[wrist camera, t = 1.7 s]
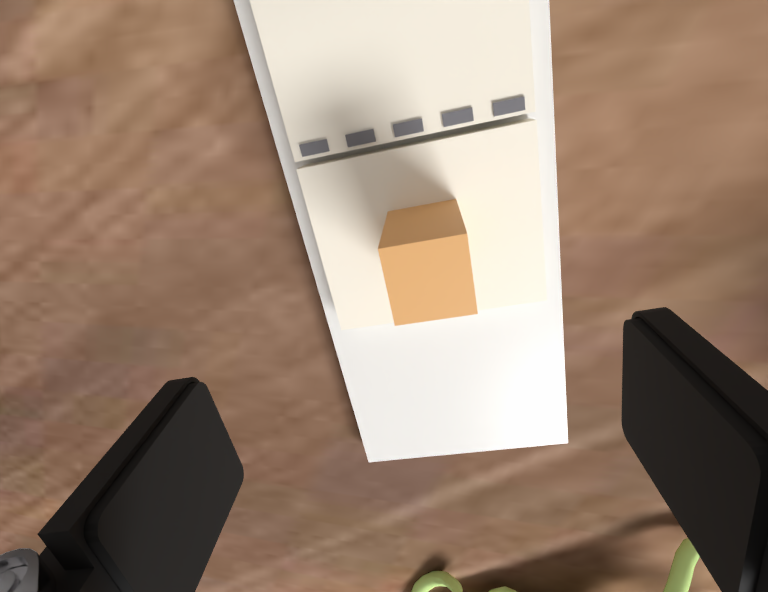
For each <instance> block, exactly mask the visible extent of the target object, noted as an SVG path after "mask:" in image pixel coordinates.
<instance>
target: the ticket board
mask: <svg viewBox="0 0 768 592" xmlns="http://www.w3.org/2000/svg"><path fill="white" fill-rule="evenodd" d="M234 4H235V7H236V10H237V14H238V17H239V21H240V24H241V28H242V31H243V34H244V38H245V41H246V45H247V48H248V51H249V55H250V58H251V62H252V65H253V69H254V72H255V75H256V79H257V82H258V86H259V89H260V92H261V96H262V99H263V103H264V106H265V110H266V113H267V116H268V120H269V123H270V127H271V130H272V134H273V137H274V140H275V144H276V147H277V151H278V154H279V157H280V161H281V164H282V168H283V171H284V175H285V178H286V181H287V185H288V188H289V192H290V195H291V198H292V202H293V205H294V209H295V212H296V216H297V219H298V222H299V226H300V229H301V233H302V236H303V239H304V243H305V246H306V250H307V253H308V257H309V260H310V263H311V267H312V270H313V274H314V277H315V280H316V284H317V287H318V291H319V294H320V298H321V301H322V304H323V308H324V311H325V315H326V318H327V321H328V325H329V328H330V332H331V335H332V339H333V342H334V345H335V349H336V352H337V356H338V359H339V363H340V366H341V369H342V373H343V376H344V380H345V383H346V386H347V390H348V393H349V397H350V400H351V404H352V407H353V410H354V414H355V417H356V421H357V424H358V427H359V431H360V434H361V438H362V441H363V445H364V448H365V451H366V455H367V458H368V462H376V461H386V460H397V459H407V458H417V457H428V456H438V455H449V454H459V453H469V452H480V451H490V450H501V449H511V448H521V447H532V446H542V445H553V444H563V443H568V431H567V408H566V384H565V361H564V337H563V314H562V290H561V267H560V244H559V220H558V197H557V173H556V150H555V127H554V103H553V80H552V56H551V33H550V9H549V0H234ZM528 118H531V119H535V120H537V135H538V152H539V169H540V187H541V204H542V221H543V238H544V256H545V273H546V290H547V300H546V301H539V302H532V303H526V304H519V305H512V306H505V307H498V308H491V309H484V310H477V311H478V314H474V315H468V316H461V317H454V318H447V319H440V320H433V321H426V322H419V323H412V324H405V325H398V326H395V325H394V323H388V324H381V325H374V326H367V327H360V328H353V329H346V330H341V327H340V324H339V320H338V316H337V313H336V309H335V306H334V302H333V299H332V295H331V292H330V288H329V284H328V281H327V277H326V274H325V270H324V267H323V263H322V259H321V256H320V252H319V249H318V245H317V242H316V238H315V234H314V231H313V227H312V224H311V220H310V217H309V213H308V209H307V206H306V202H305V199H304V195H303V192H302V188H301V185H300V181H299V177H298V174H297V169H298V168H300V167H301V166H303V165H307V164H311V163H316V162H321V161H326V160H331V159H335V158H340V157H345V156H350V155H355V154H359V153H364V152H369V151H374V150H379V149H383V148H388V147H393V146H398V145H403V144H408V143H412V142H417V141H422V140H427V139H432V138H436V137H441V136H446V135H451V134H456V133H460V132H465V131H470V130H475V129H480V128H485V127H489V126H494V125H499V124H504V123H509V122H513V121H518V120H523V119H528Z"/></svg>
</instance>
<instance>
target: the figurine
mask: <svg viewBox="0 0 768 592" xmlns="http://www.w3.org/2000/svg"><path fill="white" fill-rule="evenodd" d="M699 557H700V556H699V554H698V553H697V551H696V550H695V548H694V546H693V545H692V543H691V542H690V540H689V538H687V539H684V540H683V541H682V543H681V545H680V546H679V548H678V549H677V551H676V552H675V556H674V559H673V563H672V566H671V570H670V573H669V577H668V580H667V583H666V586H665V588H664V591H663V592H688V590H689V587H690V583H691V579H692V575H693V571H694V567H695V565H696V563H697V561H698V559H699ZM436 586H444V587H447V588H449V589H450V590H451V591H452V592H463V589H462V586H461V584H460V583H459V581H458V580H457V579H455V578H454V577H453V576H451V575H450V574H449V573H447V572H444V571H432V572H430V573H428V574H426V575H424V576H422V577H421V578H420V579H419V580H418V581H417V582H416V583H415V584H414V586H413V589H412V591H411V592H428V591H430V590H431V589H432V588H434V587H436ZM488 592H517V591H515V590H513V589H511V588H508V587H506V586H503V587H499V588H495V589H492V590H490V591H488Z"/></svg>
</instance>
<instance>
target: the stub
mask: <svg viewBox="0 0 768 592" xmlns="http://www.w3.org/2000/svg"><path fill="white" fill-rule="evenodd" d="M297 174H298V177H299V181H300V185H301V188H302V192H303V195H304V199H305V202H306V206H307V209H308V213H309V217H310V220H311V224H312V227H313V231H314V234H315V238H316V242H317V245H318V249H319V252H320V256H321V259H322V263H323V267H324V270H325V274H326V277H327V281H328V284H329V288H330V292H331V295H332V299H333V302H334V306H335V309H336V313H337V316H338V320H339V324H340V327H341V330H346V329H353V328H360V327H367V326H374V325H381V324H388V323H394V325H395V326H398V325H405V324H412V323H419V322H426V321H433V320H440V319H447V318H454V317H461V316H468V315H474V314H478V311H477V310H484V309H491V308H498V307H505V306H512V305H519V304H526V303H532V302H539V301H546V300H547V290H546V273H545V256H544V238H543V221H542V204H541V187H540V169H539V152H538V135H537V120H535V119H531V118H528V119H523V120H518V121H513V122H509V123H504V124H499V125H494V126H489V127H485V128H480V129H475V130H470V131H465V132H460V133H456V134H451V135H446V136H441V137H436V138H432V139H427V140H422V141H417V142H412V143H408V144H403V145H398V146H393V147H388V148H383V149H379V150H374V151H369V152H364V153H359V154H355V155H350V156H345V157H340V158H335V159H331V160H326V161H321V162H316V163H311V164H307V165H303V166H301V167H300V168H298V169H297Z"/></svg>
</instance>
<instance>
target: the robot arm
mask: <svg viewBox="0 0 768 592" xmlns="http://www.w3.org/2000/svg"><path fill="white" fill-rule="evenodd" d="M622 428H623V431H624V434H625V437H626V439H627V441H628V442H629V444H630V446H631V447H632V449H633V450H634V452H635V454H636V455H637V457H638V458H639V460H640V462H641V463H642V465H643V466H644V468H645V470H646V471H647V473H648V474H649V476H650V478H651V479H652V481H653V482H654V484H655V486H656V487H657V489H658V490H659V492H660V494H661V495H662V497H663V498H664V500H665V502H666V503H667V505H668V506H669V508H670V510H671V511H672V513H673V514H674V516H675V518H676V519H677V521H678V522H679V524H680V526H681V527H682V529H683V530H684V532H685V534H686V535H687V537H688V538H689V540H690V542H691V543H692V545H693V546H694V548H695V550H696V551H697V553H698V554H699V556H700V558H701V559H702V561H703V562H704V564H705V566H706V567H707V569H708V570H709V572H710V574H711V575H712V577H713V578H714V580H715V582H716V583H717V585H718V586H719V588H720V590H721V591H722V592H768V391H767V390H766V389H765V388H764V387H763V386H761V385H760V384H759V383H758V382H757V381H755V380H754V379H753V378H752V377H751V376H749V375H748V374H747V373H746V372H745V371H743V370H742V369H741V368H740V367H739V366H737V365H736V364H735V363H734V362H732V361H731V360H730V359H729V358H728V357H726V356H725V355H724V354H723V353H722V352H720V351H719V350H718V349H717V348H716V347H714V346H713V345H712V344H711V343H710V342H708V341H707V340H706V339H705V338H704V337H702V336H701V335H700V334H699V333H698V332H696V331H695V330H694V329H693V328H692V327H690V326H689V325H688V324H687V323H686V322H684V321H683V320H682V319H681V318H680V317H678V316H677V315H676V314H675V313H674V312H672V311H671V310H670V309H668V308H666V307H663V308H656V309H649V310H642V311H636V312H634V313H633V315H632V319H629V320H626V321H625V322H624V326H623V375H622ZM243 477H244V472H243V467H242V464H241V462H240V459H239V457H238V455H237V453H236V450H235V448H234V446H233V444H232V441H231V439H230V437H229V435H228V432H227V430H226V428H225V426H224V423H223V421H222V419H221V417H220V415H219V412H218V410H217V408H216V406H215V403H214V401H213V399H212V397H211V394H210V392H209V390H208V388H207V386H206V384H204V383H203V382H199V380H198V379H197V378H194V377H190V378H183V379H176V380H170V381H168V382H167V383H165V385H164V386H163V387H162V388H161V389H160V390H159V392H158V393H157V394H156V395H155V396H154V398H153V399H152V400H151V401H150V402H149V403H148V405H147V406H146V407H145V408H144V409H143V410H142V412H141V413H140V414H139V415H138V416H137V418H136V419H135V420H134V421H133V422H132V423H131V425H130V426H129V427H128V428H127V429H126V431H125V432H124V433H123V434H122V435H121V436H120V438H119V439H118V440H117V441H116V442H115V443H114V445H113V446H112V447H111V448H110V449H109V451H108V452H107V453H106V454H105V455H104V456H103V458H102V459H101V460H100V461H99V462H98V464H97V465H96V466H95V467H94V468H93V469H92V471H91V472H90V473H89V474H88V475H87V477H86V478H85V479H84V480H83V481H82V482H81V484H80V485H79V486H78V487H77V488H76V489H75V491H74V492H73V493H72V494H71V495H70V497H69V498H68V499H67V500H66V501H65V502H64V504H63V505H62V506H61V507H60V508H59V510H58V511H57V512H56V513H55V514H54V515H53V517H52V518H51V519H50V520H49V521H48V522H47V524H46V525H45V526H44V527H43V528H42V530H41V531H40V532H39V533H38V535H39V537H40V538H41V539H42V541H43V542H44V543H45V545H46V546H47V547H46V548H45V549H44V550H43V552H42V553H41V554H40V555H38V553H37V552H35V551H34V550H32V549H30V548H28V549H17V550H13V551H10V552H6V553H4V554H2V555H0V592H195V590H196V588H197V586H198V584H199V581H200V579H201V577H202V574H203V572H204V570H205V567H206V565H207V563H208V560H209V558H210V556H211V554H212V551H213V549H214V547H215V544H216V542H217V540H218V537H219V535H220V533H221V531H222V528H223V526H224V524H225V521H226V519H227V517H228V514H229V512H230V510H231V507H232V505H233V503H234V501H235V498H236V496H237V494H238V491H239V489H240V487H241V484H242V482H243Z"/></svg>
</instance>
